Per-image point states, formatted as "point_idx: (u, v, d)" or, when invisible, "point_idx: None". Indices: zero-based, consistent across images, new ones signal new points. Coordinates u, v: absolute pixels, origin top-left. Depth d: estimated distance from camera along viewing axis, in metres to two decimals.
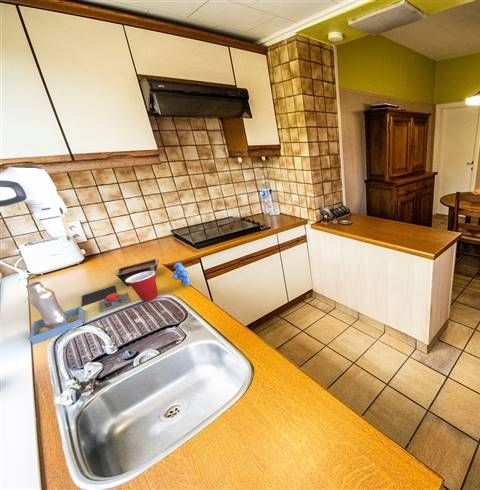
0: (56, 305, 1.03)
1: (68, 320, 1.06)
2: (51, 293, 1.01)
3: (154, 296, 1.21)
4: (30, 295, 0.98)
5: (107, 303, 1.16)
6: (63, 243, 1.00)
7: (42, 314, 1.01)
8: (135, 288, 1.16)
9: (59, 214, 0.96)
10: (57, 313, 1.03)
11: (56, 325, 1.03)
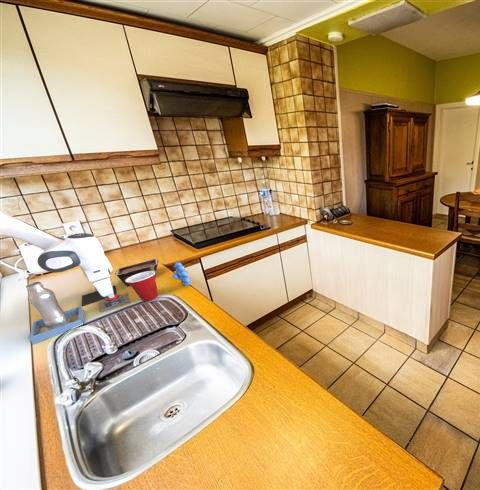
0: (56, 305, 1.03)
1: (68, 320, 1.06)
2: (51, 293, 1.01)
3: (154, 296, 1.21)
4: (30, 295, 0.98)
5: (107, 303, 1.16)
6: (109, 295, 1.16)
7: (42, 314, 1.01)
8: (135, 288, 1.16)
9: (108, 275, 1.09)
10: (57, 313, 1.03)
11: (56, 325, 1.03)
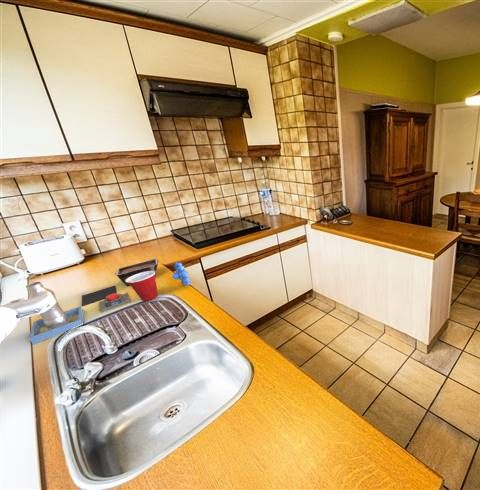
0: (56, 305, 1.03)
1: (68, 320, 1.06)
2: (51, 293, 1.01)
3: (154, 296, 1.21)
4: (30, 295, 0.98)
5: (107, 303, 1.16)
6: None
7: (42, 314, 1.01)
8: (135, 288, 1.16)
9: None
10: (57, 313, 1.03)
11: (56, 325, 1.03)
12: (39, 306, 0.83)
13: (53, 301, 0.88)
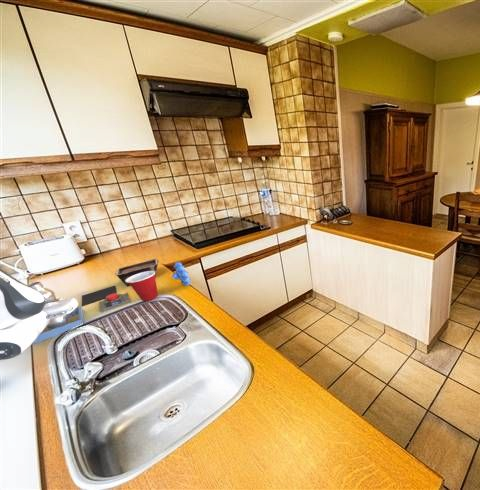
0: None
1: (68, 320, 1.06)
2: (51, 293, 1.01)
3: (154, 296, 1.21)
4: None
5: (107, 303, 1.16)
6: None
7: None
8: (135, 288, 1.16)
9: None
10: None
11: (56, 325, 1.03)
12: (65, 309, 0.97)
13: (75, 304, 1.02)
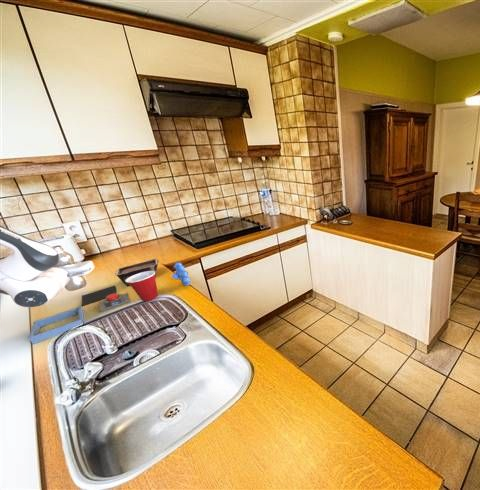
0: None
1: (85, 283, 1.16)
2: (70, 256, 1.11)
3: (154, 296, 1.21)
4: None
5: (107, 303, 1.16)
6: None
7: None
8: (135, 288, 1.16)
9: None
10: None
11: (74, 286, 1.13)
12: (83, 269, 1.07)
13: (92, 266, 1.11)
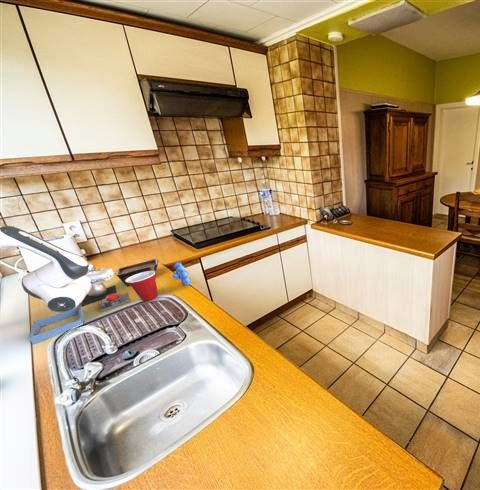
0: None
1: (105, 289, 1.26)
2: (93, 265, 1.21)
3: (154, 296, 1.21)
4: None
5: (107, 303, 1.16)
6: None
7: None
8: (135, 288, 1.16)
9: None
10: None
11: (96, 292, 1.23)
12: (105, 276, 1.17)
13: (112, 273, 1.21)
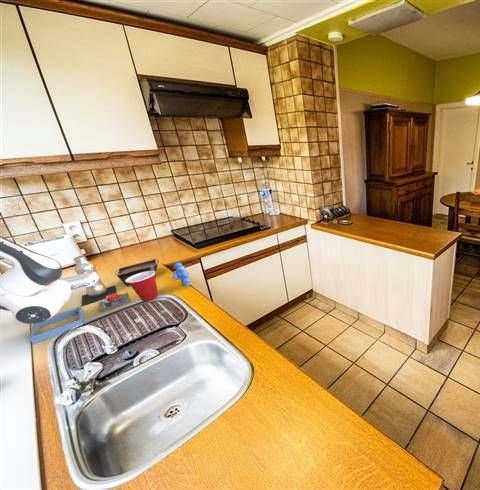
0: None
1: (105, 289, 1.26)
2: (93, 265, 1.21)
3: (154, 296, 1.21)
4: (77, 266, 1.17)
5: (107, 303, 1.16)
6: None
7: None
8: (135, 288, 1.16)
9: None
10: (97, 282, 1.23)
11: (96, 292, 1.23)
12: (87, 281, 1.02)
13: (97, 277, 1.07)
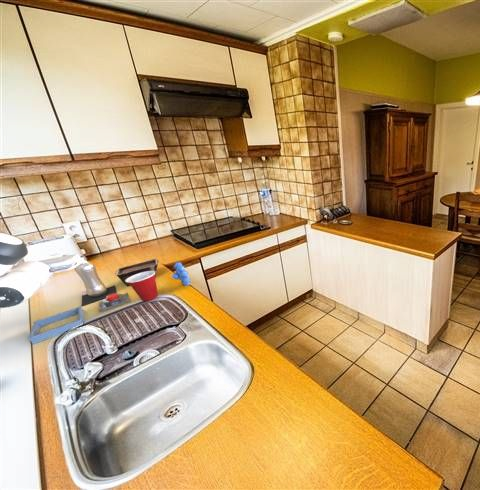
0: (96, 276, 1.23)
1: (105, 289, 1.26)
2: (93, 265, 1.21)
3: (154, 296, 1.21)
4: (77, 266, 1.17)
5: (107, 303, 1.16)
6: None
7: (85, 283, 1.21)
8: (135, 288, 1.16)
9: None
10: (97, 282, 1.23)
11: (96, 292, 1.23)
12: (68, 263, 0.93)
13: (79, 260, 0.97)
